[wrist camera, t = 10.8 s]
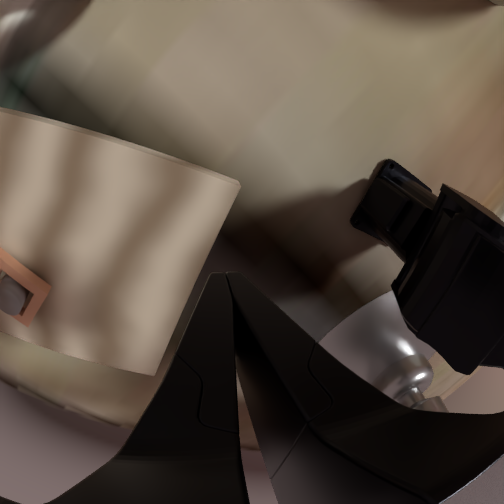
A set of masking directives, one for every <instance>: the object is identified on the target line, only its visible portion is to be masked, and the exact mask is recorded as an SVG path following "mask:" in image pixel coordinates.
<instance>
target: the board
mask: <svg viewBox="0 0 504 504" xmlns="http://www.w3.org/2000/svg"><path fill="white" fill-rule="evenodd" d="M240 188H241V186H240V184H239V181H238V180H235V179H233V178H230V177H227V176H225V175H222V174H220V173H217V172H214V171H211V170H209V169H206V168H203V167H201V166H198V165H195V164H192V163H190V162H187V161H184V160H181V159H178V158H175V157H173V156H170V155H167V154H164V153H161V152H158V151H155V150H152V149H149V148H146V147H143V146H140V145H137V144H134V143H131V142H127V141H124V140H121V139H118V138H115V137H111V136H108V135H105V134H102V133H98V132H95V131H92V130H88V129H85V128H81V127H78V126H74V125H71V124H67V123H63V122H60V121H56V120H52V119H48V118H44V117H40V116H36V115H32V114H28V113H24V112H20V111H16V110H11V109H7V108H3V107H0V247H1V248H2V249H4V250H5V251H6V252H7V253H8V254H10V255H11V256H12V257H13V258H15V259H16V260H17V261H18V262H20V263H21V264H22V265H24V266H25V267H26V268H27V269H29V270H30V271H31V272H33V273H34V274H35V275H37V276H38V277H39V278H41V279H42V280H44V281H45V282H46V283H48V284H49V285H51V286H52V287H51V289H50V291H49V293H48V295H47V297H46V298H45V300H44V301H43V303H42V305H41V306H40V308H39V310H38V311H37V313H36V315H35V316H34V318H33V320H32V322H31V323H30V325H29V327H26V326H25V325H23V324H22V323H20V322H19V321H18V320H16V319H15V318H13V317H12V316H10V315H13V316H15V315H18V314H19V313H20V311H21V309H22V307H24V308H25V309H26V307H27V305H28V303H29V302H30V300H31V298H32V296H33V293H32V292H30V291H29V290H28V289H26V288H25V287H23V286H22V285H21V284H19V283H18V282H17V281H15V280H14V279H13V278H12V277H10V276H9V275H8V274H6V273H5V272H4V271H3V270H2V272H1V274H0V331H1V332H4V333H6V334H9V335H11V336H14V337H17V338H19V339H22V340H25V341H27V342H30V343H33V344H36V345H39V346H41V347H44V348H47V349H50V350H54V351H57V352H60V353H63V354H66V355H70V356H73V357H76V358H80V359H83V360H87V361H91V362H94V363H98V364H102V365H106V366H110V367H114V368H118V369H123V370H127V371H132V372H136V373H141V374H146V375H151V376H155V374H156V371H157V369H158V367H159V364H160V362H161V359H162V357H163V355H164V352H165V350H166V348H167V345H168V343H169V341H170V338H171V336H172V334H173V331H174V329H175V327H176V325H177V322H178V320H179V318H180V316H181V313H182V311H183V309H184V307H185V304H186V302H187V300H188V298H189V295H190V293H191V291H192V289H193V287H194V284H195V282H196V280H197V278H198V276H199V273H200V271H201V269H202V267H203V265H204V263H205V260H206V258H207V256H208V254H209V252H210V250H211V248H212V246H213V243H214V241H215V239H216V237H217V235H218V233H219V231H220V229H221V227H222V225H223V222H224V220H225V218H226V216H227V214H228V212H229V210H230V208H231V206H232V204H233V202H234V200H235V198H236V196H237V194H238V192H239V190H240Z"/></svg>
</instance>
